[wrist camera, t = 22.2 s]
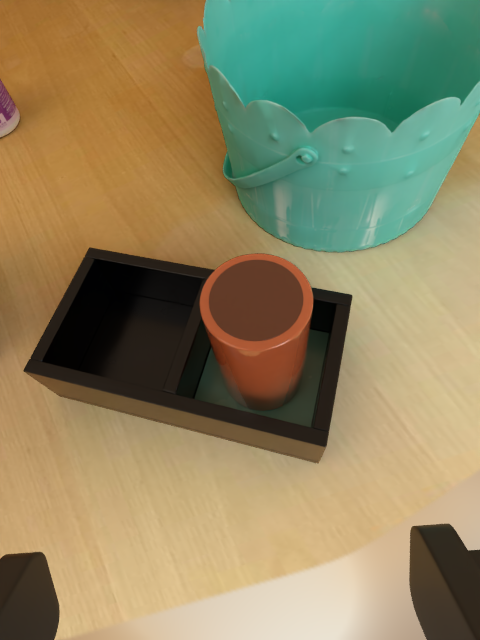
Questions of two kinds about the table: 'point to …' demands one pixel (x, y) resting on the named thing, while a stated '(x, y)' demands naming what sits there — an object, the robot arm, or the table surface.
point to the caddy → (178, 355)
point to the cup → (258, 328)
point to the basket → (341, 110)
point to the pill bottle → (7, 112)
